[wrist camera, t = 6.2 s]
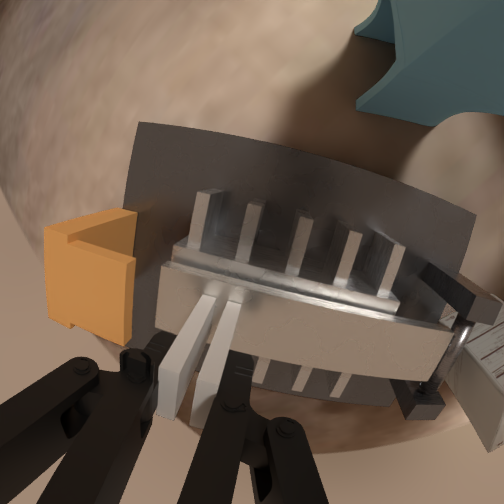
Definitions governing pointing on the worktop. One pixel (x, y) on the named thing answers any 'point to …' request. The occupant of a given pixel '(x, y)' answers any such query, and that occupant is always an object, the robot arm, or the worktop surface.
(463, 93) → the vase
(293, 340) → the strap
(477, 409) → the supplement box
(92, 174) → the worktop surface
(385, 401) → the heatsink
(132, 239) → the lug slider
